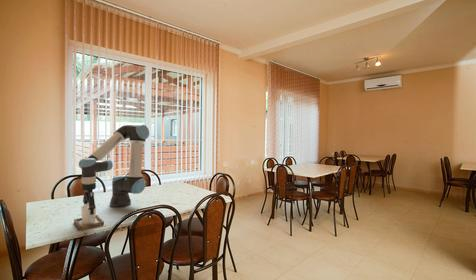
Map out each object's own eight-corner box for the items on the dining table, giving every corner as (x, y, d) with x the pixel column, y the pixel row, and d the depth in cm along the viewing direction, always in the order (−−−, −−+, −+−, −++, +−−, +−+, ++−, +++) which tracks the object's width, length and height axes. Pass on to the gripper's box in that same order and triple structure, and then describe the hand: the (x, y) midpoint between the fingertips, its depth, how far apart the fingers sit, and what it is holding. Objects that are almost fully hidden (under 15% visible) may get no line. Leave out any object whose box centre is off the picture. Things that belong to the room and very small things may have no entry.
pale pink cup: (78, 223, 149) (78, 207, 148) (90, 219, 156) (90, 204, 156) (87, 225, 146) (87, 209, 145) (99, 220, 153) (98, 205, 153)
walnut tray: (97, 217, 161) (97, 214, 161) (103, 225, 150) (103, 221, 150) (74, 222, 152) (74, 219, 152) (79, 230, 141) (79, 226, 141)
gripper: (77, 180, 156) (77, 212, 157) (86, 187, 138) (86, 223, 139) (90, 179, 162) (90, 210, 162) (101, 185, 144) (100, 220, 144)
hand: (88, 216), depth 151 cm, fingers open, 13 cm apart
